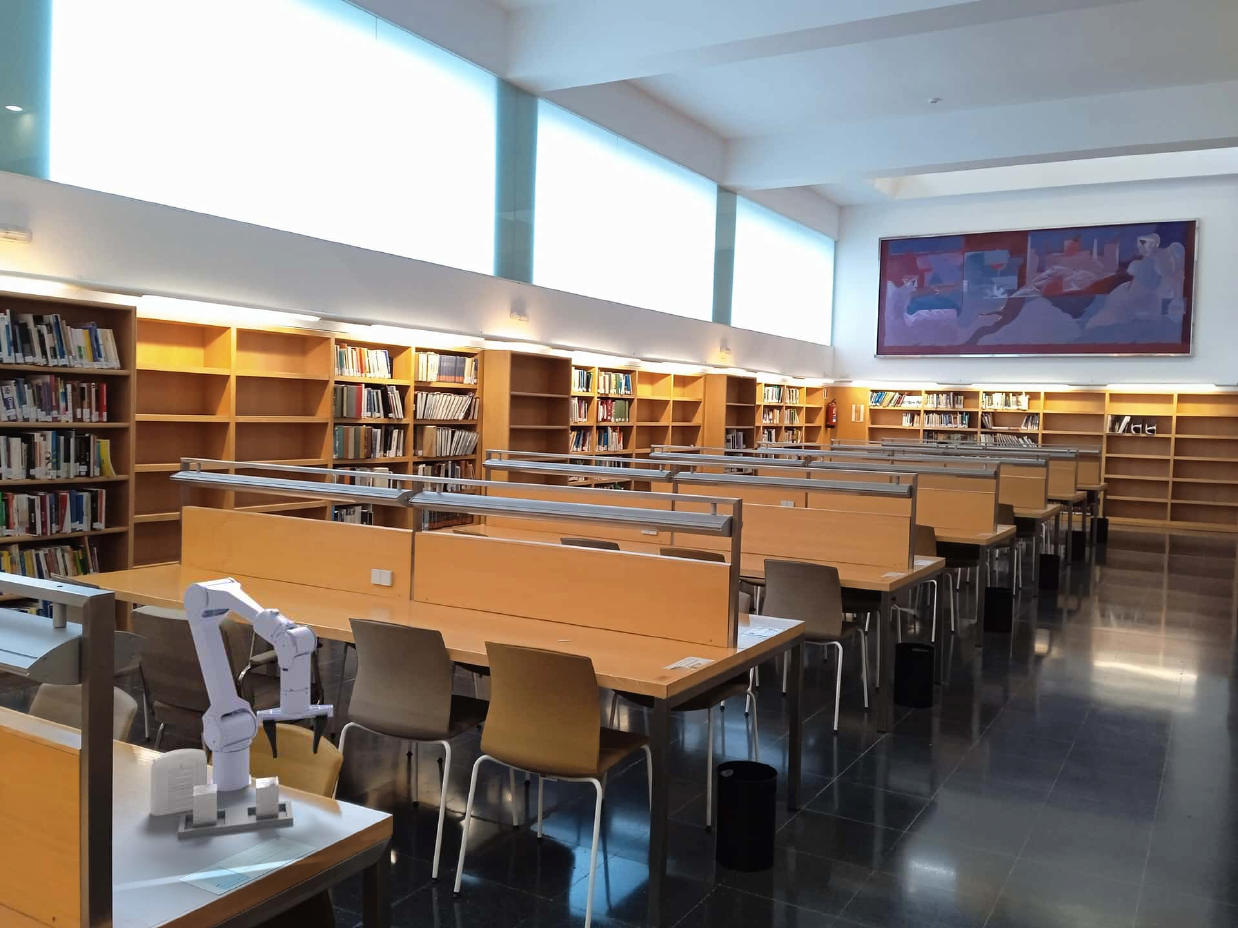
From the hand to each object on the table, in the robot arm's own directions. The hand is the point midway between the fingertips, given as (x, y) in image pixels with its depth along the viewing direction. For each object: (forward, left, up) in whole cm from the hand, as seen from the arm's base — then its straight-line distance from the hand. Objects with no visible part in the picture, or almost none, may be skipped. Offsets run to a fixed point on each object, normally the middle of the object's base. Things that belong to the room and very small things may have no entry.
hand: (295, 754), depth 195 cm
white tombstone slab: (-4, -22, -11) cm, 24 cm away
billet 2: (+7, -6, -10) cm, 13 cm away
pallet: (+7, -11, -10) cm, 17 cm away
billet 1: (+7, -17, -10) cm, 20 cm away
